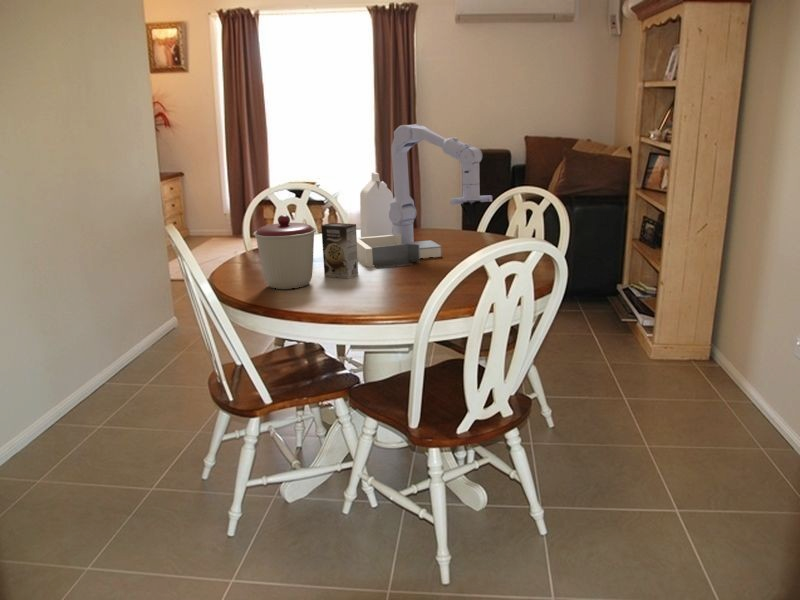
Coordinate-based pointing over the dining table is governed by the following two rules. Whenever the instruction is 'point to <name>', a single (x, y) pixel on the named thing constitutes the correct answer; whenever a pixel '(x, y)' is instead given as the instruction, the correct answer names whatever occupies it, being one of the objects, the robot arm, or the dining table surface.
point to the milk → (375, 208)
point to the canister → (286, 253)
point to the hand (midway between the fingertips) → (471, 224)
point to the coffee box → (340, 250)
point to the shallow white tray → (367, 242)
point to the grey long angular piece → (395, 255)
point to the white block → (428, 249)
